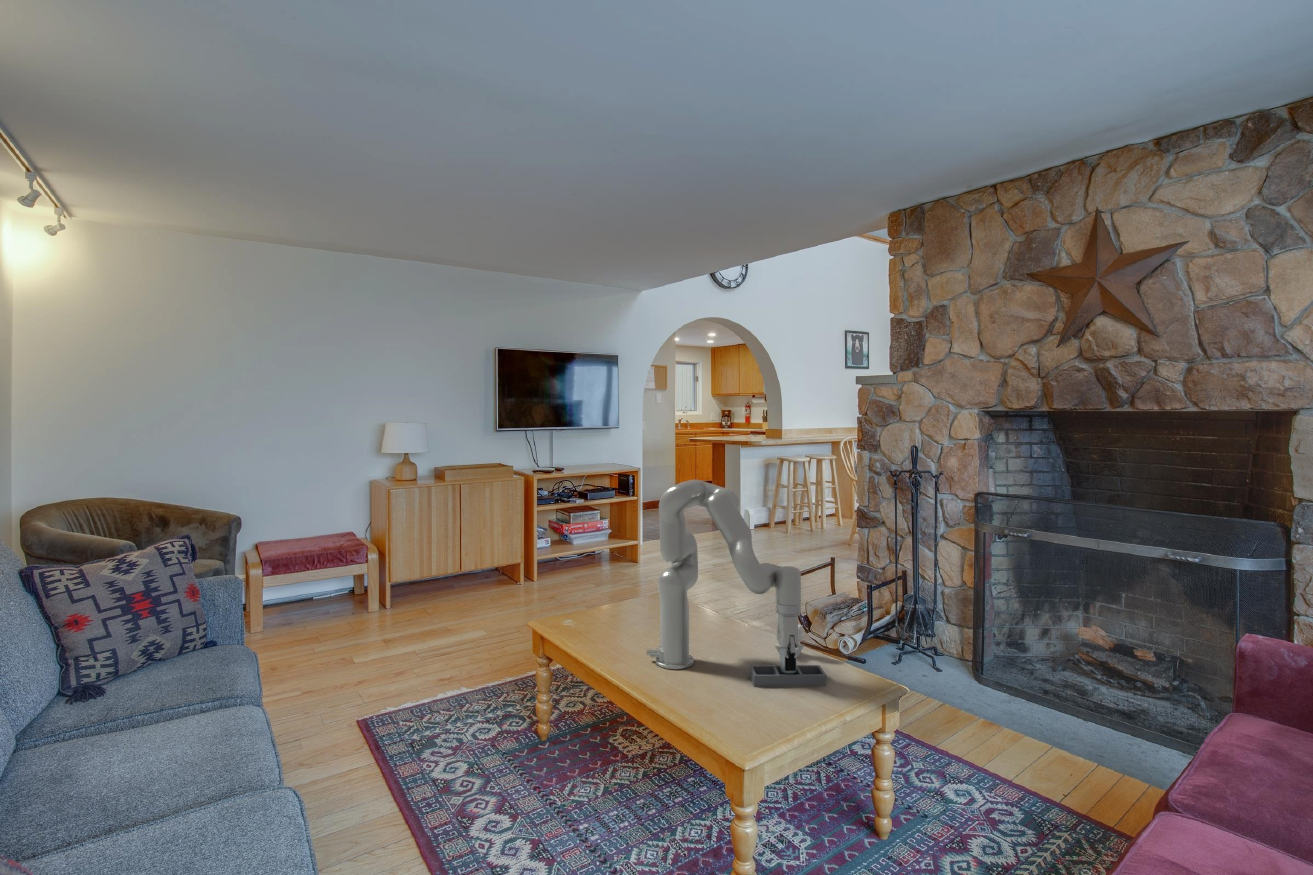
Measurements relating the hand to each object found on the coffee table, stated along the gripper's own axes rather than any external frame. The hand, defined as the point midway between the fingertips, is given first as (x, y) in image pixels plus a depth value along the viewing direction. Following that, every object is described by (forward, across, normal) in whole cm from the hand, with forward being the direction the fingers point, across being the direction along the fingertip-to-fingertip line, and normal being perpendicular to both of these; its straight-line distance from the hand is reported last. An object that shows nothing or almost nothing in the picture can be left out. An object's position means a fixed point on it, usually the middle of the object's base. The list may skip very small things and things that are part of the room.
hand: (788, 665), depth 197 cm
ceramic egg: (+1, 0, 0) cm, 1 cm away
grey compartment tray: (+5, 0, 0) cm, 5 cm away
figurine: (+5, -20, +5) cm, 21 cm away
